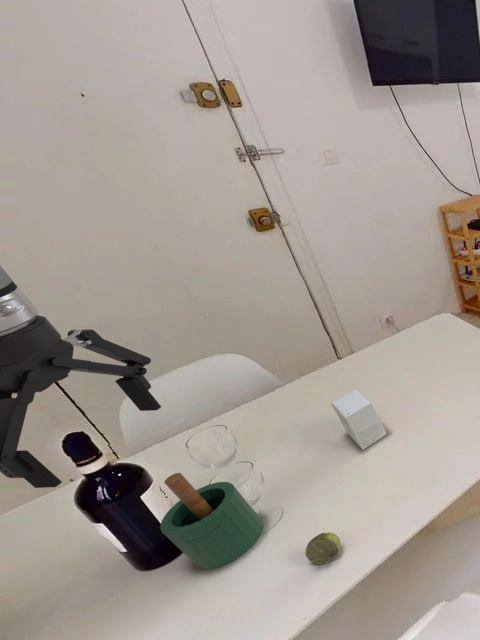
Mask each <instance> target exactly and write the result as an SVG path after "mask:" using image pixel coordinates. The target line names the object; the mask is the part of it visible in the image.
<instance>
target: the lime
mask: <svg viewBox="0 0 480 640" xmlns="http://www.w3.org/2000/svg"><path fill="white" fill-rule="evenodd" d="M340 549H341V539H340V537H339V536H338V535H337V534H336V533H334V532H333V533H332V532H321V533H319V534H317V535H316V536H314V537H313V538H312V539H311V540H309V542H308V543H307V545H306V548H305V551H304V554H305V557H306V558H307V559H308V561H309V562H311V563H313V564H316V565H323V564H326V563H330V561H332V560H333V559H334V558H336V557H337V556H338V554H339V552H340Z"/></svg>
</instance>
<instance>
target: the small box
mask: <svg viewBox="0 0 480 640" xmlns="http://www.w3.org/2000/svg"><path fill="white" fill-rule="evenodd" d="M330 405H331V406H332V408H333V410H334V411H335V413H336V415H337V417H338V419H339V420H340V422H341V424H342V426H343V427H344V429H345V431H346V433H347V435H348V436H349V437H350V438H351V439H352V441H354V442H355V443H356V445H358V447H359V448H360V450H363V451H364V450H365V449H366V448H368V447H370V446H371V445H373V444H374V443H376V442H378V441H379V440H381V439H382V438H383V437H385V436H386V435H387V434H388V433H387V431H386V429H385V427H384V425H383V423H382V421H381V419H380V416H379V414H378V413H377V411H376V409H375V407H374V404H373V403H372V401H370V399H368V398H367V397H366V396H365V395H364V394H363V393H362V392H361V391H360V390H358V389H354V390H352V391H350V392H349V393H347V394H344V395H343V396H342V397H340V398H338V399H336V400H334V401H332V402H331V404H330Z"/></svg>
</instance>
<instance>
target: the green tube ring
mask: <svg viewBox="0 0 480 640" xmlns="http://www.w3.org/2000/svg"><path fill="white" fill-rule="evenodd" d="M195 490H196V491H197V492H198V493H199V494H200V495H201V496H202V497H203V499H204V500H205V501H206V502H207V503H208V504H209V505H210V506H211V507H212V509H213V510H214V511H213V512H212V513H210V514H209V515H208V516H206V517H204V518H203V519H201V520H199V519H198V518H197V517H196V516H195V515H194V514H193V513H192V512H191V511H190V510H189V509H188V508H187V506H186V505H185V504H184V503H183V502H182V501H181V500H180V499H179V501H177V502H176V503H175V504H174V505H173V506H172V507H171V508H169V510H168V511H167V512H166V514H165V515H164V516H163V518H162V519H161V522H160V525H159V528H160V531H161V533H162V534H163V535H164V536H165V537H166V538H167V539H168V540H169V541H171V543H173V544H174V546H176V547H177V549H178V550H179V551H181V552H182V553H183V554H184V555H185V556H186V557H187V558H188V559H189V560H190V561H191V562H192V563H193V564H194V565H196V566H197V567H199V568H200V569H201V570H207V571H208V570H209V571H210V570H216V569H219V568H221V567H224V566H226V565H228V564H230V563H233V562H234V561H236V560H237V559H239V558H240V557H242V555H245V553H247V552H248V551H249V550H250V549H251V548H252V547H253V546H254V545H255V543H256V542H257V541H258V540H259V538H260V536H261V535H262V532H263V529H264V522H263V520H262V519H261V518H260V515H258V514H257V512H256V511H255V510H254V509H253V507H252V506H251V505H250V504H249V503H248V501H247V500H246V499H245V498H244V496H243V495H242V494H241V492H240V491H239V490H238V489H237V488H236V487H235V485H234V484H233V483H232V482H228V481H216V482H213V483H210V484H207V485H204V486H202V487H199V488H198V489H195Z"/></svg>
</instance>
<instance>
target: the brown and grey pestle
mask: <svg viewBox="0 0 480 640" xmlns="http://www.w3.org/2000/svg"><path fill="white" fill-rule="evenodd" d="M164 484H165V486H167V488H168V489H169V490H170V491H171V492H172V493H173V494H174V495H175V496H176V497H177V498H178V499H179V501H180V500H181V501H182V502H183V503H184V504H185V505H186V506H187V508H188V509H189V510H190V511H191V512H192V513H193V514H194V515H195V516H196V517H197V518H198V519H199V520H201V519H203V518H204V517H206V516H208V515H209V514H210V513H212V512H213V511H214V510H213V509H212V507H211V506H210V505H209V504H208V503H207V502H206V501H205V500H204V499H203V497H202V496H201V495H200V494H199V493H198V492H197V491H196V490H197V489H196V488H195V487H194V486H193V485H192V484H191V483H190V482H189V481H188V479H187V478H186V477H185V476H184V475H183V474H182V473H181V472H175V473H173V474H171V475H170V476H168V477H167V478H165V479H164Z"/></svg>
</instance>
